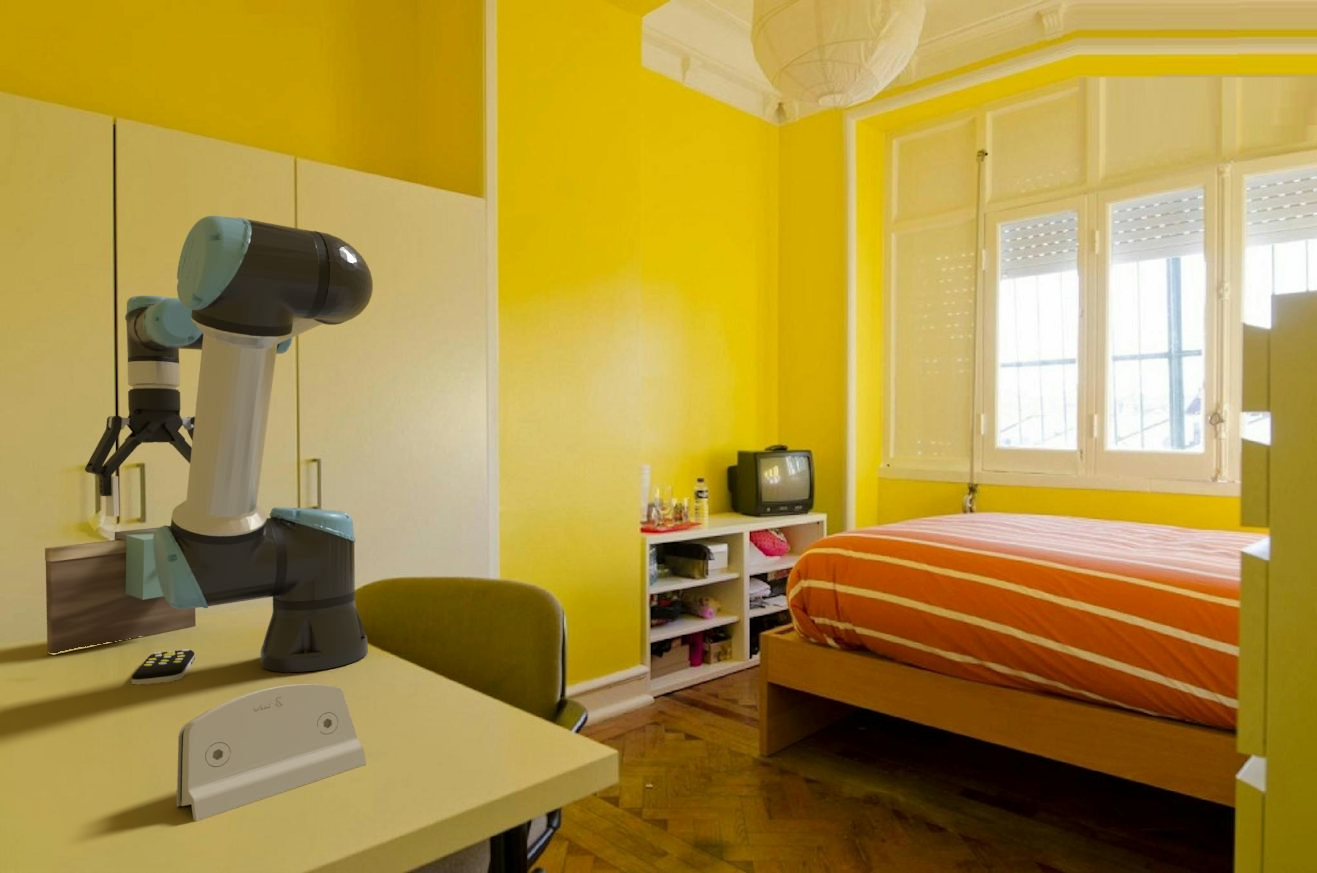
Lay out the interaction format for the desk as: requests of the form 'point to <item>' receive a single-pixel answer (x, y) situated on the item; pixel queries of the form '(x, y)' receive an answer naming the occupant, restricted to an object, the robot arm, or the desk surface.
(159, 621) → the wall board
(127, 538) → the cabinet
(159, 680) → the remote control
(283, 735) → the grey mounting bracket
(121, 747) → the desk surface
